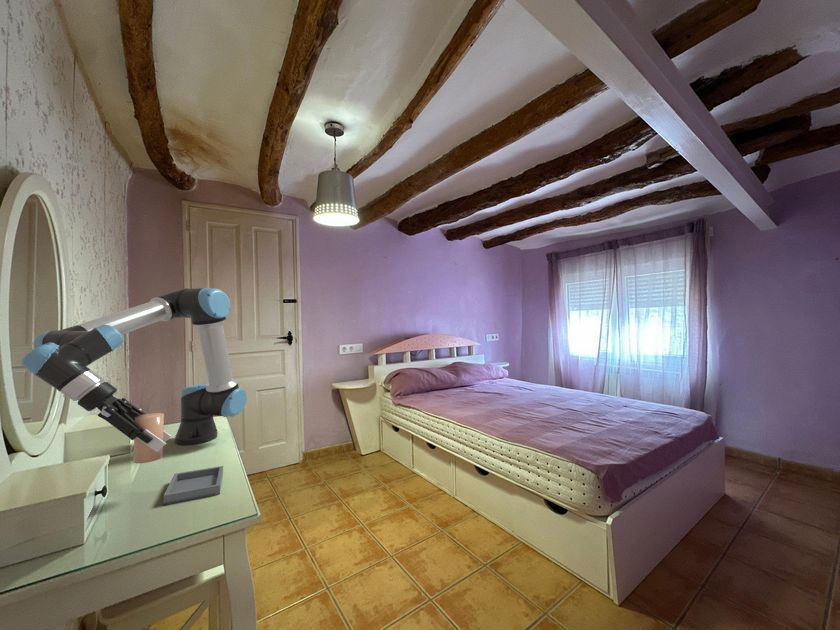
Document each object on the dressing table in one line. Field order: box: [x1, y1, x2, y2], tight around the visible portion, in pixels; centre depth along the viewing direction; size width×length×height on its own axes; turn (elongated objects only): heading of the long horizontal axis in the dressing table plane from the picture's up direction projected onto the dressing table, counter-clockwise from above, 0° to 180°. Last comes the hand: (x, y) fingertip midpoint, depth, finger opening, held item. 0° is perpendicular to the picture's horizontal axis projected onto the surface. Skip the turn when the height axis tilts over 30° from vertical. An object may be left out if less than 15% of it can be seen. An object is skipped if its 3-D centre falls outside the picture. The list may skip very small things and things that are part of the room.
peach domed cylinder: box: [132, 412, 165, 464], centre depth 94 cm, size 6×6×12 cm
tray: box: [162, 465, 224, 506], centre depth 99 cm, size 15×13×2 cm
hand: (164, 443), depth 95 cm, fingers closed on peach domed cylinder, 6 cm apart
